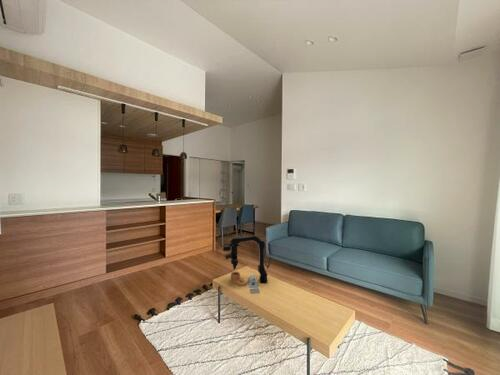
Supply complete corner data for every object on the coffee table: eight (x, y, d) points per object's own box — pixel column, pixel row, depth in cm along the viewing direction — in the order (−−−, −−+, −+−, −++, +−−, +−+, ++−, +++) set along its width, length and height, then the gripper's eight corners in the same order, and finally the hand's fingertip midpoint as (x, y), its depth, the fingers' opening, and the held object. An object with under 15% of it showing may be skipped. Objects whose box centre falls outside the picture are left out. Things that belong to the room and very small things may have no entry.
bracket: (229, 280, 199) (229, 273, 198) (236, 277, 204) (236, 270, 204) (241, 288, 185) (241, 280, 185) (248, 284, 191) (248, 277, 191)
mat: (258, 289, 184) (258, 288, 184) (260, 294, 176) (260, 293, 176) (249, 289, 183) (249, 288, 183) (250, 294, 175) (250, 293, 175)
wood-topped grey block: (255, 283, 191) (256, 274, 191) (256, 285, 188) (256, 275, 188) (249, 283, 191) (249, 274, 190) (250, 285, 188) (250, 275, 187)
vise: (256, 282, 196) (256, 276, 196) (258, 287, 186) (258, 281, 186) (247, 282, 195) (248, 276, 195) (249, 287, 185) (249, 281, 185)
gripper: (225, 247, 201) (225, 263, 202) (225, 254, 183) (225, 272, 183) (237, 247, 202) (236, 263, 203) (238, 254, 184) (238, 271, 185)
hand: (234, 267), depth 194 cm, fingers open, 9 cm apart
